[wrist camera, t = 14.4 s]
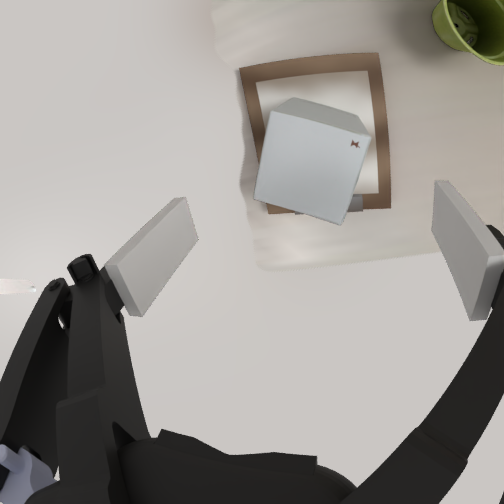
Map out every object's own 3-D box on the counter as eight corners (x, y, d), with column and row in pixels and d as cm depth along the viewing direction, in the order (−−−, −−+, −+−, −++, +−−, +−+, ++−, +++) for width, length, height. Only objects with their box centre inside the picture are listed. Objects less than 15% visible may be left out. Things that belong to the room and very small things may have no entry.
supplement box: (292, 95, 29) (269, 105, 19) (359, 115, 28) (376, 137, 18) (277, 157, 33) (249, 200, 23) (340, 175, 33) (343, 228, 22)
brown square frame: (242, 68, 30) (236, 68, 28) (376, 53, 25) (379, 52, 23) (270, 209, 39) (266, 217, 37) (388, 203, 34) (392, 211, 32)
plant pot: (499, 32, 18) (538, 29, 11) (466, 80, 23) (501, 85, 16) (440, -23, 17) (467, -44, 10) (403, 24, 22) (425, 10, 15)
